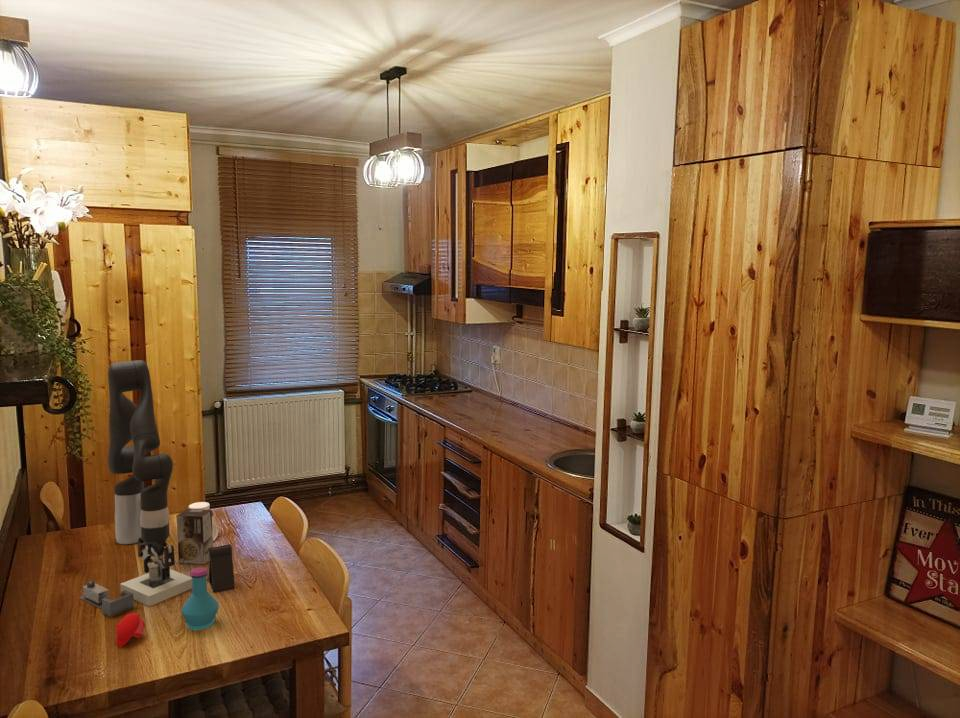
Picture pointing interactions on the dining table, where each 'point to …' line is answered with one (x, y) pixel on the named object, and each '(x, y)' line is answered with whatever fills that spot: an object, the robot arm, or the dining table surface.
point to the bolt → (95, 592)
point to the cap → (129, 628)
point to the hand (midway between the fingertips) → (156, 575)
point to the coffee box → (194, 535)
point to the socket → (157, 588)
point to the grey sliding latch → (114, 604)
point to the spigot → (155, 573)
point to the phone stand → (221, 568)
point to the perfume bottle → (200, 603)
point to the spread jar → (206, 507)
